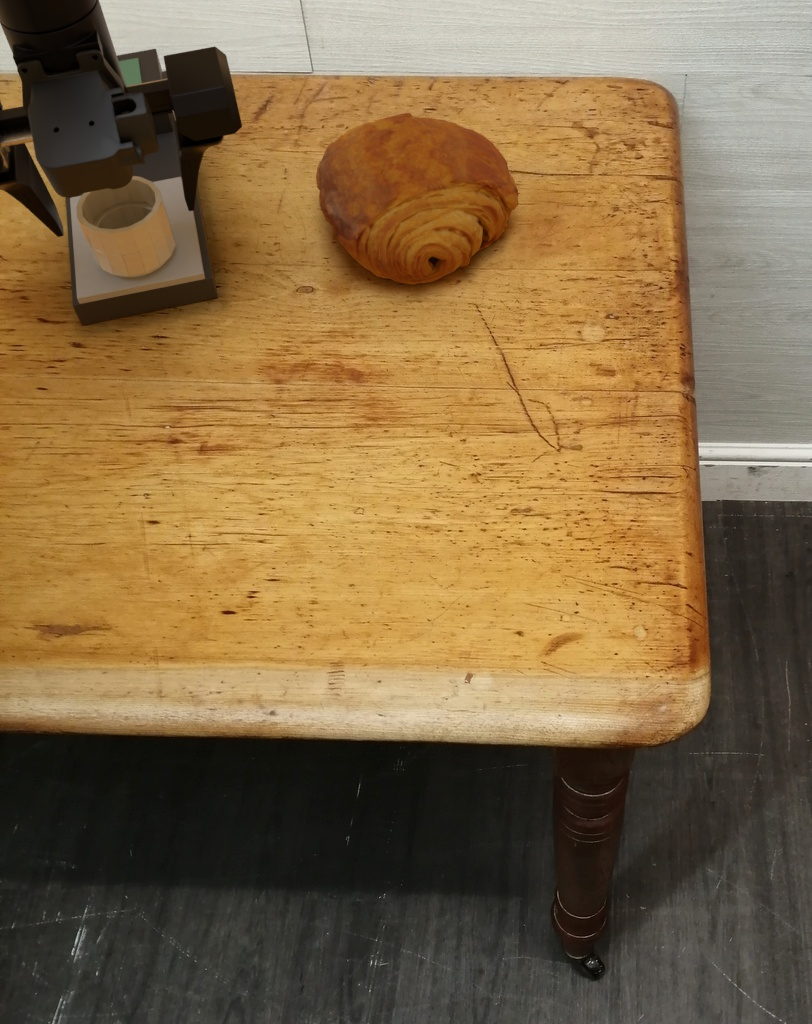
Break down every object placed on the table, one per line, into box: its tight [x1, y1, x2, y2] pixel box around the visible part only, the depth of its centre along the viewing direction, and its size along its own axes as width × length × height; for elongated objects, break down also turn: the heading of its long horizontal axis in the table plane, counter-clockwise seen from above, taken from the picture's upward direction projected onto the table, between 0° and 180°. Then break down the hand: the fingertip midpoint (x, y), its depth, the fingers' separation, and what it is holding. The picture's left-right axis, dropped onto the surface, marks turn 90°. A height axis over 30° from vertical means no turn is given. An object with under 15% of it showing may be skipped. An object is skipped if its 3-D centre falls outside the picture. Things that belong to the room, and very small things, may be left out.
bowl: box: [76, 176, 175, 278], centre depth 70 cm, size 6×6×4 cm
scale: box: [64, 48, 219, 326], centre depth 77 cm, size 10×26×5 cm, turn 13°
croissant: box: [315, 112, 520, 285], centre depth 73 cm, size 14×16×8 cm
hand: (126, 219), depth 69 cm, fingers open, 9 cm apart
